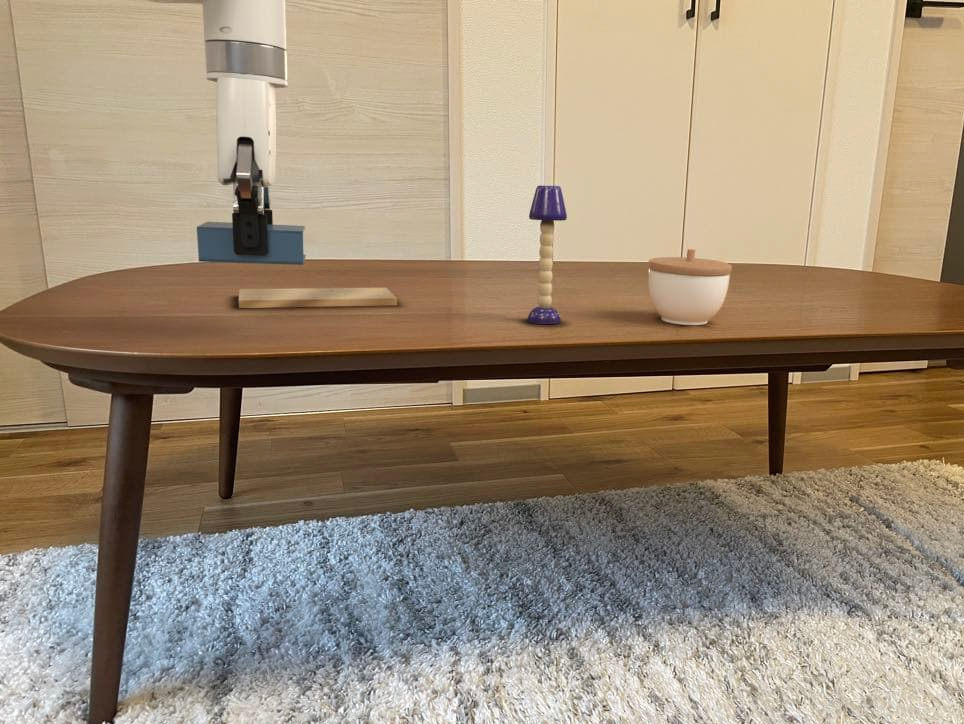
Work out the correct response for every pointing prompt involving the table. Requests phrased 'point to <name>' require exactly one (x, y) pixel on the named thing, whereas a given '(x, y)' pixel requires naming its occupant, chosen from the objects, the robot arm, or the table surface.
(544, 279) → the toy lamp
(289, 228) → the blue rectangular block
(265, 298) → the birch board
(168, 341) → the table surface
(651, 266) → the trinket box
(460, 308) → the table surface
